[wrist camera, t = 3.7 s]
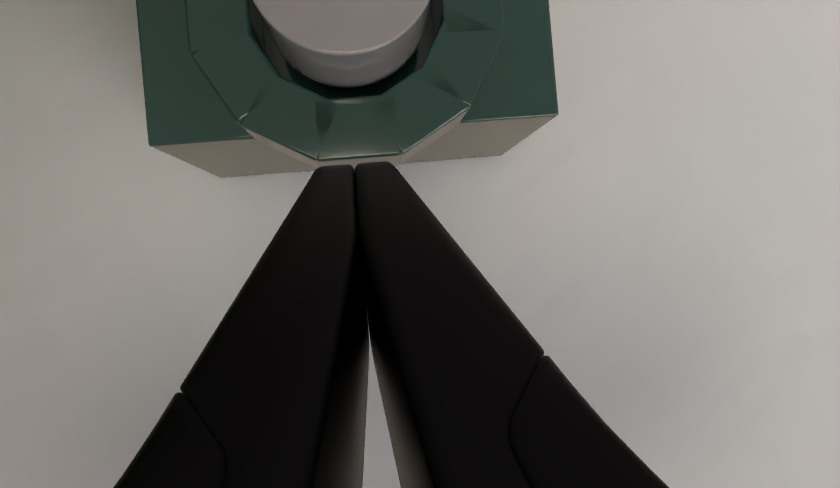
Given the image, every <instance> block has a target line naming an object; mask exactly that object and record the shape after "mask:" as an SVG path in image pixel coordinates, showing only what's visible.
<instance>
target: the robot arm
mask: <svg viewBox="0 0 840 488" xmlns="http://www.w3.org/2000/svg"><path fill="white" fill-rule="evenodd" d="M367 315H368V316H367ZM368 324H369V329H368ZM369 333H370V341H371V348H372V354H373V359H374V364H375V369H376V374H377V378H378V383H379V388H380V392H381V397H382V401H383V406H384V411H385V415H386V420H387V425H388V429H389V434H390V438H391V443H392V448H393V452H394V457H395V462H396V466H397V471H398V475H399V480H400V485H401V488H669V487H668V486H667V485H666V484H665V483H664V482H663V481H662V480H661V479H660V478H659V477H658V476H657V475H656V474H655V473H654V472H653V471H652V470H651V469H650V468H649V467H648V466H647V465H646V464H645V463H644V462H643V461H642V460H641V459H640V458H639V457H638V456H637V455H636V454H635V453H634V452H633V451H632V450H631V449H630V448H629V447H628V446H627V445H626V444H625V443H624V442H623V441H622V440H621V439H620V438H619V437H618V436H617V435H616V434H615V433H614V432H613V431H612V430H611V428H610V427H609V426H608V425H607V424H606V423H605V422H604V421H603V420H602V419H601V418H600V416H599V415H598V414H597V413H596V412H595V411H594V409H593V408H592V407H591V406H590V405H589V404H588V403H587V401H586V400H585V399H584V398H583V397H582V396H581V394H580V393H579V392H578V391H577V390H576V389H575V388H574V386H573V385H572V384H571V383H570V382H569V380H568V379H567V378H566V377H565V375H564V374H563V373H562V372H561V371H560V369H559V368H558V367H557V366H556V364H555V363H554V362H553V361H552V359H551V358H550V357H549V356H543V355H544V350H543V349H542V348H541V346H540V345H539V344H538V343H537V341H536V340H535V339H534V338H533V337H532V335H531V334H530V333H529V332H528V330H527V329H526V328H525V327H524V325H523V324H522V323H521V322H520V320H519V319H518V318H517V317H516V316H515V314H514V313H513V312H512V311H511V309H510V308H509V307H508V306H507V304H506V303H505V302H504V301H503V300H502V298H501V297H500V296H499V295H498V293H497V292H496V291H495V290H494V288H493V287H492V286H491V285H490V284H489V282H488V281H487V280H486V279H485V277H484V276H483V275H482V274H481V272H480V271H479V270H478V269H477V268H476V266H475V265H474V264H473V263H472V261H471V260H470V259H469V258H468V256H467V255H466V254H465V253H464V252H463V250H462V249H461V248H460V247H459V245H458V244H457V243H456V242H455V240H454V239H453V238H452V237H451V236H450V234H449V233H448V232H447V231H446V229H445V228H444V227H443V226H442V224H441V223H440V222H439V221H438V220H437V218H436V217H435V216H434V215H433V213H432V212H431V211H430V210H429V208H428V207H427V206H426V205H425V203H424V202H423V201H422V200H421V199H420V197H419V196H418V195H417V194H416V192H415V191H414V190H413V189H412V187H411V186H410V185H409V184H408V183H407V181H406V180H405V179H404V178H403V176H402V175H401V174H400V173H399V171H398V170H397V169H396V168H395V167H394V165H393V164H392V163H390V162H388V161H381V162H369V163H359V164H358V165H356V167H355V171H354V168H353V167H352V166H351V165H349V164H343V165H331V166H321V167H319V168H317V169H316V170H315V172H314V173H313V175H312V177H311V178H310V180H309V181H308V183H307V185H306V186H305V188H304V189H303V191H302V193H301V194H300V196H299V197H298V199H297V201H296V202H295V204H294V205H293V207H292V209H291V210H290V212H289V213H288V215H287V217H286V218H285V220H284V221H283V223H282V225H281V226H280V228H279V229H278V231H277V233H276V234H275V236H274V237H273V239H272V241H271V242H270V244H269V245H268V247H267V249H266V250H265V252H264V253H263V255H262V257H261V258H260V260H259V261H258V263H257V265H256V266H255V268H254V269H253V271H252V273H251V274H250V276H249V277H248V279H247V281H246V282H245V284H244V285H243V287H242V289H241V290H240V292H239V293H238V295H237V297H236V298H235V300H234V301H233V303H232V305H231V306H230V308H229V309H228V311H227V313H226V314H225V316H224V317H223V319H222V321H221V322H220V324H219V325H218V327H217V329H216V330H215V332H214V333H213V335H212V337H211V338H210V340H209V341H208V343H207V345H206V346H205V348H204V349H203V351H202V353H201V354H200V356H199V357H198V359H197V361H196V362H195V364H194V365H193V367H192V369H191V370H190V372H189V373H188V375H187V377H186V378H185V380H184V381H183V383H182V385H181V387H180V390H181V392H182V393H181V392H178V393H176V394H175V395H174V397H173V398H172V400H171V402H170V403H169V405H168V406H167V408H166V410H165V411H164V413H163V414H162V416H161V418H160V419H159V421H158V423H157V424H156V426H155V427H154V429H153V430H152V432H151V433H150V435H149V436H148V438H147V439H146V441H145V442H144V444H143V445H142V447H141V448H140V450H139V451H138V453H137V454H136V456H135V457H134V459H133V460H132V462H131V463H130V465H129V466H128V468H127V469H126V471H125V472H124V474H123V475H122V477H121V478H120V479H119V481H118V482H117V483H116V485H115V486H114V487H113V488H362V484H363V465H364V446H365V427H366V408H367V389H368V370H369Z"/></svg>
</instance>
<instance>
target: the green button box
mask: <svg viewBox="0 0 840 488" xmlns="http://www.w3.org/2000/svg"><path fill="white" fill-rule="evenodd" d="M136 6H137V17H138V29H139V40H140V51H141V63H142V74H143V86H144V97H145V108H146V120H147V131H148V142H149V145H150V146H151V147H154V148H156V149H158V150H160V151H162V152H165V153H167V154H169V155H171V156H174V157H176V158H178V159H180V160H182V161H185V162H187V163H189V164H191V165H194V166H196V167H198V168H200V169H202V170H205V171H207V172H209V173H211V174H214V175H216V176H218V177H221V178H222V177H235V176H248V175H260V174H273V173H286V172H298V171H311V170H316V169H317V168H319V167H321V166H331V165H343V164H349V165H351V166H352V167H353V168H354V169H355V167H356V165H358V164H359V163H369V162H381V161H388V162H390V163H392V164H393V165H394V166H397V165H398V164H402V163H412V162H425V161H437V160H450V159H463V158H475V157H488V156H501V155H503V154H504V153H505V152H507V151H508V150H510V149H511V148H512V147H514V146H515V145H516V144H518V143H519V142H521V141H522V140H523V139H525V138H526V137H528V136H529V135H530V134H532V133H533V132H535V131H536V130H537V129H539V128H540V127H542V126H543V125H544V124H546V123H547V122H549V121H550V120H551V119H553V118H554V117H556V116H557V115H558V104H557V92H556V81H555V69H554V58H553V46H552V35H551V23H550V12H549V0H431V3H430V8H429V12H428V16H427V21H426V25H425V29H424V33H423V35H422V38H421V41H420V43H419V45H418V47H417V48H416V50H415V52H414V53H413V55H412V56H411V57H410V59H409V60H408V61H407V62H406V63H405V64H404V65H403V66H402V67H401V68H400V69H399V70H397V71H396V72H395V73H394V74H392V75H390V76H389V77H387V78H385V79H384V80H381V81H379V82H376V83H374V84H370V85H367V86H362V87H355V88H341V87H333V86H329V85H325V84H321V83H319V82H316V81H314V80H311V79H310V78H308V77H306V76H304V75H303V74H301V73H300V72H299V71H297V70H296V69H294V68H293V67H292V66H291V65H290V64H289V63H288V62H287V61H286V60H285V59H284V57H283V56H282V55H281V54H280V52H279V51H278V49H277V47H276V46H275V44H274V42H273V40H272V38H271V36H270V34H269V32H268V30H267V28H266V26H265V24H264V22H263V20H262V18H261V16H260V14H259V12H258V10H257V8H256V6H255V4H254V2H253V0H136Z"/></svg>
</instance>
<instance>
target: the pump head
mask: <svg viewBox="0 0 840 488" xmlns="http://www.w3.org/2000/svg"><path fill="white" fill-rule="evenodd" d="M253 2H254V4H255V6H256V8H257V10H258V12H259V14H260V16H261V18H262V20H263V22H264V24H265V26H266V28H267V30H268V32H269V34H270V36H271V38H272V40H273V42H274V44H275V46H276V47H277V49H278V51H279V52H280V54H281V55H282V56H283V57H284V59H285V60H286V61H287V62H288V63H289V64H290V65H291V66H292V67H293V68H294V69H296V70H297V71H299V72H300V73H301V74H303V75H304V76H306V77H308V78H310V79H311V80H314V81H316V82H319V83H321V84H325V85H329V86H333V87H341V88H355V87H362V86H367V85H370V84H374V83H376V82H379V81H381V80H384V79H385V78H387V77H389V76H390V75H392V74H394V73H395V72H396V71H397V70H399V69H400V68H401V67H402V66H403V65H404V64H405V63H406V62H407V61H408V60H409V59H410V57H411V56H412V55H413V53H414V52H415V50H416V48H417V47H418V45H419V43H420V41H421V38H422V35H423V33H424V29H425V25H426V21H427V16H428V12H429V8H430V3H431V0H253Z"/></svg>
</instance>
